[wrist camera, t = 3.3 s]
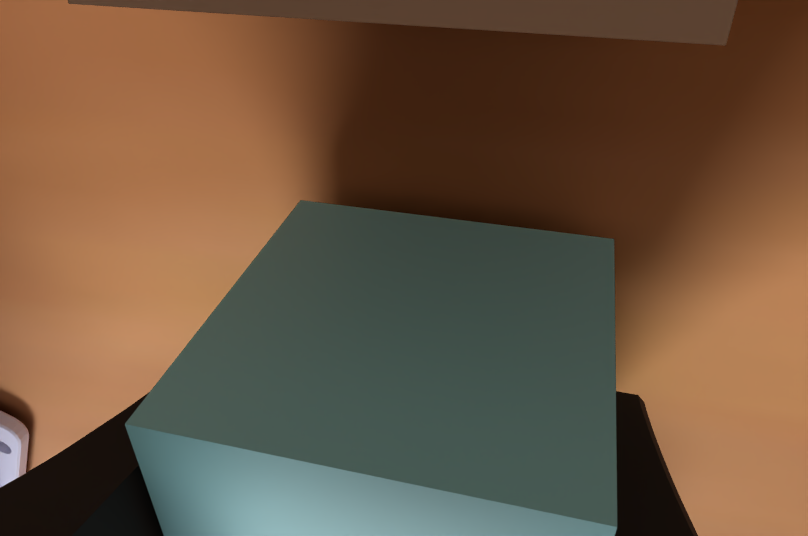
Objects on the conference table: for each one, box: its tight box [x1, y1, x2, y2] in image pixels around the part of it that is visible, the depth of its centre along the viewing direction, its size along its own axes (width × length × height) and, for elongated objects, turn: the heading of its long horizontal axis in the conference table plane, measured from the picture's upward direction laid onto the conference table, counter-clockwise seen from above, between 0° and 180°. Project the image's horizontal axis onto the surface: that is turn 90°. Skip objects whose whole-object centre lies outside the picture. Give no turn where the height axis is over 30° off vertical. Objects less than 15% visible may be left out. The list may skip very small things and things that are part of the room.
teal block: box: [125, 200, 617, 536], centre depth 10 cm, size 5×5×5 cm
